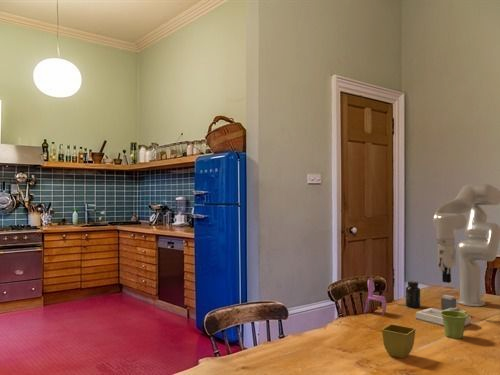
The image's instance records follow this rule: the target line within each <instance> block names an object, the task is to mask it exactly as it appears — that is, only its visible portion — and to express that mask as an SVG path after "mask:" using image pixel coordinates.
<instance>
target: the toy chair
mask: <svg viewBox="0 0 500 375" xmlns="http://www.w3.org/2000/svg"><path fill="white" fill-rule="evenodd" d="M375 289H376V288H375V282H374V281H373V280H372V279H367V291H368V297H367V298H366V300H365V301H366V302H365V308H364V312H363V314H365V313H366V312H368V311H369V309H370V302H371V301H377V302H381V305H382V310H381V311H382V312H381V315H382V316H383V315H384V314H386V311H387V299H386V296H385V295H375V294H374V293H373V292H374V291H375Z"/></svg>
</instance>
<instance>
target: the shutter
mask: <svg viewBox="0 0 500 375" xmlns="http://www.w3.org/2000/svg"><path fill="white" fill-rule="evenodd" d="M442 311H458V312H462V313H465V314H467V315H468V311H467V310H463V309H460V307H457V306H456V307H455V308H449V309H445V310H442ZM466 318H467V317H466Z"/></svg>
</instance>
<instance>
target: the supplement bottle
mask: <svg viewBox="0 0 500 375" xmlns="http://www.w3.org/2000/svg"><path fill="white" fill-rule="evenodd" d="M405 306H406V307H407V308H412V309H419V308H421V288H420V287H419V282H418V281H416V280H409V281H407V286H406V288H405Z"/></svg>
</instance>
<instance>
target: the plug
mask: <svg viewBox="0 0 500 375" xmlns="http://www.w3.org/2000/svg"><path fill="white" fill-rule="evenodd" d="M441 296H442V297H441V298H440V302H441V303H440V310H445V309H449V308H455V307H457V298H456V296H454V295H448V294H444V295H441Z"/></svg>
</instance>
